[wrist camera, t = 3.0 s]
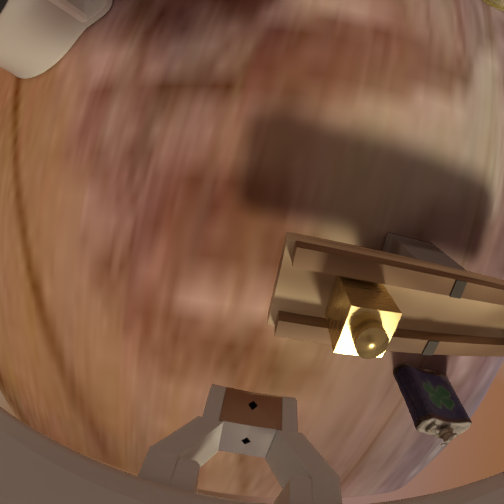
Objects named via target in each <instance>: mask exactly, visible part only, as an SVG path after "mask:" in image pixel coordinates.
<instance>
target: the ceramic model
mask: <svg viewBox="0 0 504 504" xmlns="http://www.w3.org/2000/svg"><path fill="white" fill-rule="evenodd" d="M483 1H484V2H485V3H487V4H488V5H490V6H492V7H494V8H497V9H499V10H501V11H503V12H504V0H483Z"/></svg>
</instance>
